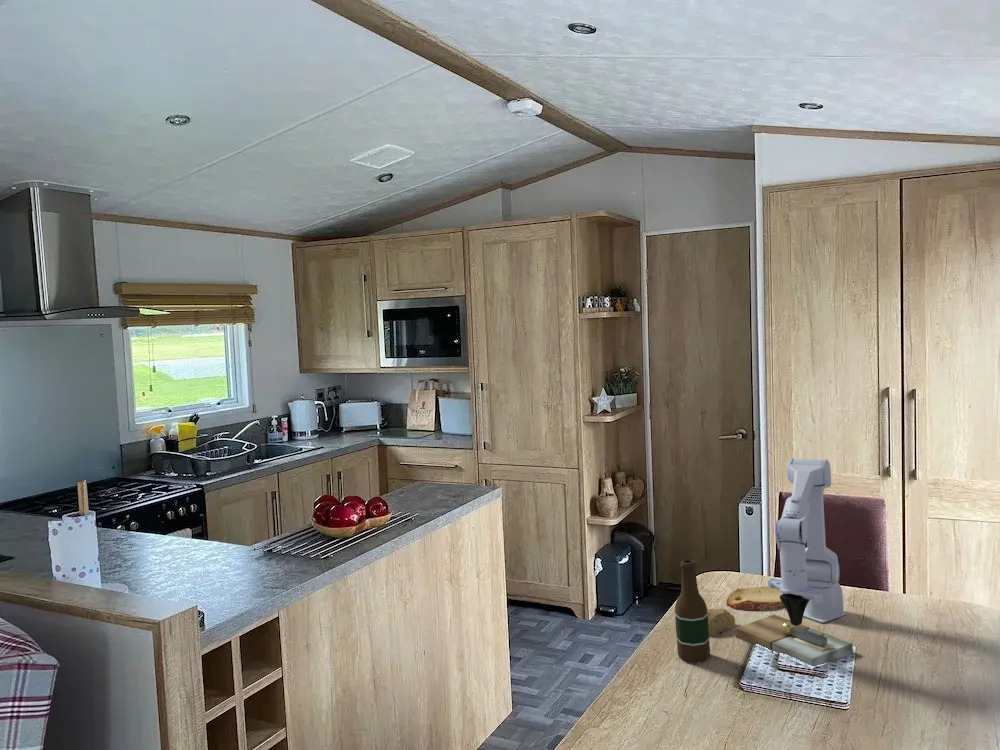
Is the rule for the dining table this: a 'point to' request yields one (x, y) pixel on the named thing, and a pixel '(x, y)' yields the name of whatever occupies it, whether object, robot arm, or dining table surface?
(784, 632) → the bar
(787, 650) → the door mockup
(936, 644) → the dining table surface
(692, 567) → the beer bottle
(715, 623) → the stone tool
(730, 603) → the slice of bread
